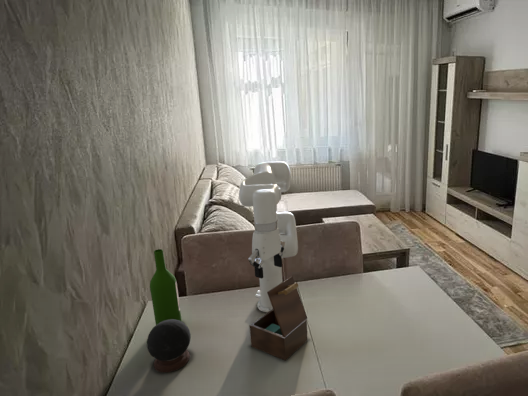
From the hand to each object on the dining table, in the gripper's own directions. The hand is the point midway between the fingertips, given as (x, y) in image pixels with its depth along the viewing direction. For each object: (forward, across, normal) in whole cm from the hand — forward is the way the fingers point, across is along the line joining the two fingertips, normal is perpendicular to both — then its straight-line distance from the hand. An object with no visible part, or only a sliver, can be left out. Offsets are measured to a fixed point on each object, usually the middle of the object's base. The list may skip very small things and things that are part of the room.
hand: (269, 271), depth 134 cm
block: (+27, 0, 0) cm, 27 cm away
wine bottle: (+28, +13, -41) cm, 52 cm away
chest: (+28, 0, +3) cm, 28 cm away
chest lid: (+11, 0, +7) cm, 14 cm away
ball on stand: (+28, +25, -23) cm, 44 cm away
